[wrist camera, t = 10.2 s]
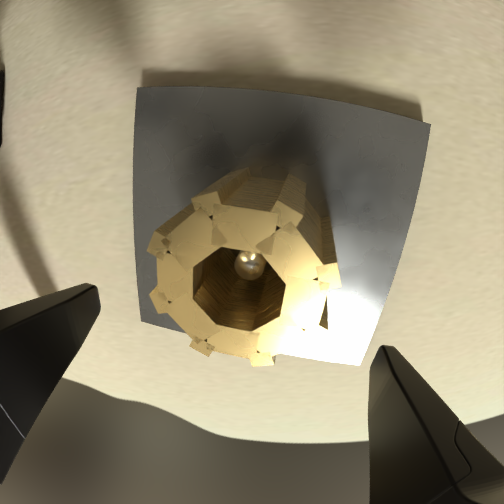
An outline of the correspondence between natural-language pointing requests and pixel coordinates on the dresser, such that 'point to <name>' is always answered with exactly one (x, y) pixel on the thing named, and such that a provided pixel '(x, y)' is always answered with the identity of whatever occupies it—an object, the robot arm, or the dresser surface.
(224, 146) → the carrier plate
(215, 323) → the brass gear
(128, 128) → the dresser surface
